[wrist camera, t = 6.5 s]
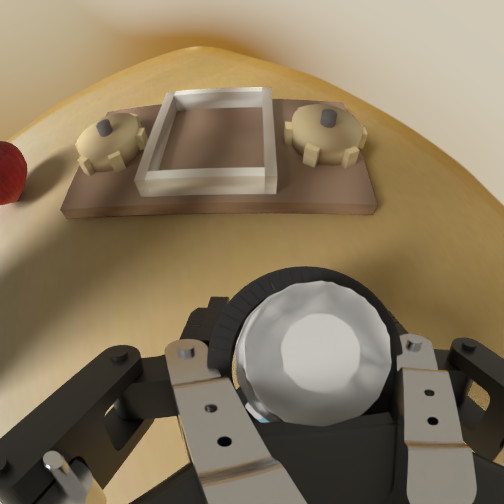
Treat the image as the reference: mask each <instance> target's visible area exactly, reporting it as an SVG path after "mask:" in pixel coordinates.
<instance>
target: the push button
mask: <svg viewBox="0 0 504 504" xmlns="http://www.w3.org/2000/svg"><path fill="white" fill-rule="evenodd" d="M234 351H235V361H236V376H237V381H238V383H239V385H240V387H239V388H238V389H237V390H236V389H235V386H234V383H233V379H232V360H233V354H234ZM397 354H403V351H402V344H401V340H400V336H399V333H398V330H397V328H396V325H395V323H394V321H393V319H392V317H391V315H390V314H389V312H388V310H387V309H386V308H385V306H384V305H383V304H382V302H381V301H380V300H379V299H378V298H377V297H376V296H375V295H374V294H373V293H372V292H371V291H370V290H369V289H368V288H366V287H365V286H364V285H362V284H361V283H359V282H358V281H356V280H354V279H353V278H351V277H348V276H346V275H344V274H342V273H339V272H336V271H333V270H329V269H325V268H319V267H308V266H305V267H291V268H285V269H281V270H277V271H274V272H271V273H268V274H266V275H264V276H262V277H259V278H258V279H256V280H254V281H253V282H251V283H249V284H248V285H247V286H245V287H244V288H243V289H241V290H240V291H239V292H238V293H237V294H236V295H235V296H234V297H233V298H232V299H231V300H230V302H229V303H228V304H227V305H226V307H225V308H224V310H223V311H222V313H221V314H220V316H219V318H218V320H217V322H216V324H215V326H214V329H213V331H212V335H211V338H210V342H209V347H208V354H207V368H217V369H218V371H219V373H220V375H221V376H228V377H229V379H230V381H231V383H232V385H233V387H234V389H235V391H236V393H237V395H238V396H239V398H240V400H241V402H242V404H243V406H244V408H245V410H246V412H247V413H248V415H249V417H250V419H251V421H252V422H288V423H295V424H303V425H311V426H322V427H323V426H329V425H332V424H335V423H339V422H342V421H345V420H348V419H352V418H355V417H358V416H366V415H373V414H380V413H386V412H387V409H388V405H389V402H390V399H391V395H392V390H393V375H394V369H395V363H396V355H397Z"/></svg>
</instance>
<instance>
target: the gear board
mask: <svg viewBox="0 0 504 504" xmlns="http://www.w3.org/2000/svg"><path fill="white" fill-rule="evenodd" d="M367 135H368V134H367V131H366V129H365V127H362V126H361V124H360V122H359V121H358V120H357V119H356V118H355V117H354V116H353V115H352V114H350V113H349V112H347V111H346V109H345V106H344V104H343V103H336V102H324V101H308V100H284V99H272V93H271V87H235V88H211V89H196V90H184V91H174V92H167V94H166V97H165V99H164V101H163V104H161V105H153V106H145V107H137V108H131V109H124V110H118V111H112V112H108V113H107V115H106V116H105V117H103V118H101V119H99V120H97V121H96V122H94V123H93V124H91V125H90V126H89V127H88V128H86V129H85V131H84V132H83V133H82V134H81V136H80V137H79V138H78V140H77V142H76V143H75V147H76V148H77V150H78V152H79V154H80V157H79V158H78V159H77V161H78V163H79V164H80V166H79V168H78V170H77V172H76V174H75V177H74V179H73V181H72V183H71V185H70V188H69V190H68V192H67V195H66V197H65V200H64V202H63V204H62V207H61V209H60V210H61V212H62V213H63V214H64V216H65V217H66V218H67V219H69V218H87V217H106V216H129V215H157V214H198V213H320V214H361V215H373V213H374V211H375V209H376V207H377V202H376V198H375V195H374V191H373V188H372V185H371V181H370V178H369V175H368V172H367V168H366V165H365V162H364V159H363V156H362V153H361V150H360V149H363V148H364V145H365V142H366V138H367Z"/></svg>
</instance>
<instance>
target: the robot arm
mask: <svg viewBox="0 0 504 504" xmlns="http://www.w3.org/2000/svg"><path fill="white" fill-rule="evenodd" d="M228 303H229V297H211V298H210V301H209V304H208V307H207V308H197V309H196V310H194V311H193V312H192V313H191V314H190V316H189V318H188V321H187V323H186V326H185V328H184V330H183V332H182V335H181V337H180V339H179V340H177V341H174V342H172V343H170V344H169V345H168V346H167V347H166V348H165V355H162V356H157V357H149V358H141V355H140V352H139V350H138V349H137V348H135V347H132V346H128V345H118V346H113V347H110V348H108V349H106V350H104V351H103V352H102V353H101V354H99V355H98V356H97V357H96V358H95V359H93V360H92V361H91V362H90V363H89V364H87V365H86V366H85V367H84V368H83V369H81V370H80V371H79V372H78V373H77V374H75V375H74V376H73V377H72V378H71V379H69V380H68V381H67V382H66V383H65V384H64V385H62V386H61V387H60V388H59V389H58V390H56V391H55V392H54V393H53V394H52V395H51V396H49V397H48V398H47V399H46V400H45V401H43V402H42V403H41V404H40V405H39V406H38V407H36V408H35V409H34V410H33V411H32V412H31V413H29V414H28V415H27V416H26V417H25V418H24V419H22V420H21V421H20V422H19V423H18V424H17V425H16V426H14V427H13V428H12V429H11V430H10V431H9V432H7V433H6V434H5V435H4V436H3V437H2V438H1V439H0V502H1V503H2V504H106V496H105V494H104V492H103V489H104V488H105V486H106V485H107V484H108V482H109V481H110V480H111V478H112V477H113V476H114V474H115V473H116V472H117V470H118V469H119V468H120V466H121V465H122V464H123V462H124V461H125V460H126V458H127V457H128V456H129V454H130V453H131V452H132V450H133V449H134V448H135V446H136V445H137V444H138V442H139V441H140V440H141V438H142V437H143V435H144V434H145V433H146V431H147V430H148V429H149V427H150V426H151V425H152V423H153V422H154V419H155V418H162V417H170V416H177V420H178V424H179V428H180V432H181V436H182V440H183V443H184V447H185V450H186V454H187V458H188V462H189V463H188V464H186V465H185V466H184V467H182V468H181V469H180V470H178V471H177V472H175V473H174V474H173V475H171V476H170V477H168V478H167V479H165V480H164V481H163V482H161V483H160V484H158V485H157V486H155V487H154V488H152V489H151V490H149V491H148V492H146V493H145V494H143V495H142V496H140V497H138V498H137V499H135V500H134V501H132V502H131V503H129V504H504V359H503V358H501V357H500V356H498V355H497V354H495V353H494V352H493V351H491V350H490V349H488V348H487V347H485V346H484V345H482V344H481V343H479V342H477V341H475V340H473V339H469V338H457V339H455V340H454V341H453V342H452V345H451V348H450V350H437V349H433V346H432V343H431V342H430V341H429V340H428V339H427V338H425V337H423V336H420V335H416V334H409V333H408V332H407V331H406V330H405V329H404V328H403V326H402V325H401V324H400V323H399V322H398V320H397V319H396V318H395V317H394V316H393V315H392V313H391V312H390V311H388V312H389V314H390V315H391V317H392V319H393V321H394V323H395V325H396V328H397V330H398V333H399V336H400V340H401V344H402V351H403V354H397V355H396V363H395V369H394V375H393V390H392V395H391V399H390V402H389V405H388V409H387V412H386V413H380V414H373V415H366V416H358V417H355V418H352V419H348V420H345V421H342V422H339V423H335V424H332V425H329V426H323V427H322V426H311V425H303V424H295V423H288V422H252V421H251V419H250V417H249V415H248V413H247V412H246V410H245V408H244V406H243V404H242V402H241V400H240V398H239V396H238V395H237V393H236V391H235V389H234V387H233V385H232V383H231V381H230V379H229V377H228V376H221V375H220V373H219V371H218V369H217V368H207V354H208V347H209V342H210V338H211V335H212V331H213V329H214V326H215V324H216V322H217V320H218V318H219V316H220V314H221V313H222V311H223V310H224V308H225V307H226V305H227V304H228ZM473 381H475V382H476V383H477V384H478V385H480V386H481V387H482V388H483V389H485V390H486V391H487V392H488V394H489V396H490V404H489V406H488V408H487V410H486V411H484V410H483V409H482V408H481V407H480V406H479V405H478V404H476V403H475V402H474V401H473V400H472V399H471V398H469V397H468V396H467V395H468V392H469V390H470V388H471V386H472V383H473ZM112 404H114V407H113V408H112V409H111V410H110V411H109V412H108V413H107V414H106V415H105V413H106V411H107V410H108V409H109V408H110V407H111V405H112ZM104 416H105V417H104ZM463 441H464V442H465V443H466V444H467V445H466V444H464V442H463ZM471 449H472V450H473V451H474V452H475V453H474V452H472V450H471Z"/></svg>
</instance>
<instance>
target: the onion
mask: <svg viewBox="0 0 504 504" xmlns="http://www.w3.org/2000/svg"><path fill="white" fill-rule="evenodd" d="M26 177H27V163H26V161H25V159H24V157H23V155H22V153H21V152H20V150H19V149H18V148H17V147H16V146H14V145H13V144H11V143H8V142H3V141H0V205H4V204H8V203H13V202H16V201H17V200H18V199H19V198H20V195H21V193H22V191H23V189H24V186H25V182H26Z"/></svg>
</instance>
